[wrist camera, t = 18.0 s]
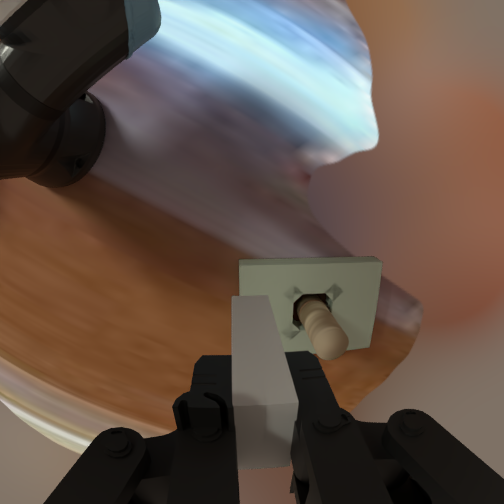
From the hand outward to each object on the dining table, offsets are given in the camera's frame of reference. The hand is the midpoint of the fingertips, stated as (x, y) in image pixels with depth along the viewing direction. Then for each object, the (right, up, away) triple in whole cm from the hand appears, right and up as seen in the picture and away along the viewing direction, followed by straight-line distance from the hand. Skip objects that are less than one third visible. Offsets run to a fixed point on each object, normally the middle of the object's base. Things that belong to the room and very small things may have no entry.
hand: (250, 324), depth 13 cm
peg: (+8, -5, +31) cm, 32 cm away
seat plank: (+8, -4, +31) cm, 32 cm away
